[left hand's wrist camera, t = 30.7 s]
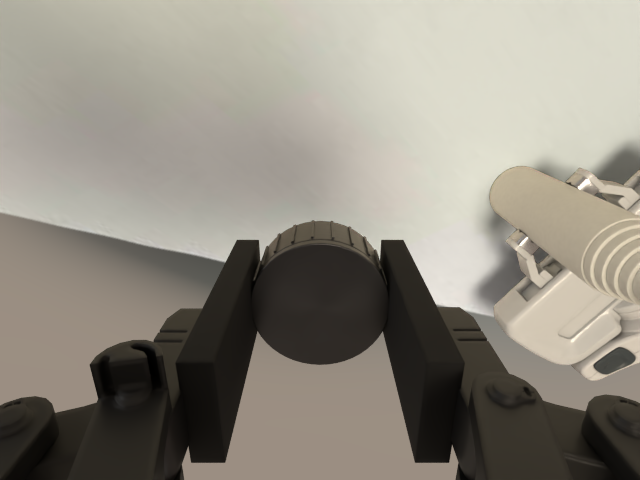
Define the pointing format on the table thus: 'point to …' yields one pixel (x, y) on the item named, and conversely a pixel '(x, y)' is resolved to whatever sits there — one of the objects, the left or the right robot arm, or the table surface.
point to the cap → (320, 294)
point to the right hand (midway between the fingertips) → (543, 208)
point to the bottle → (574, 229)
